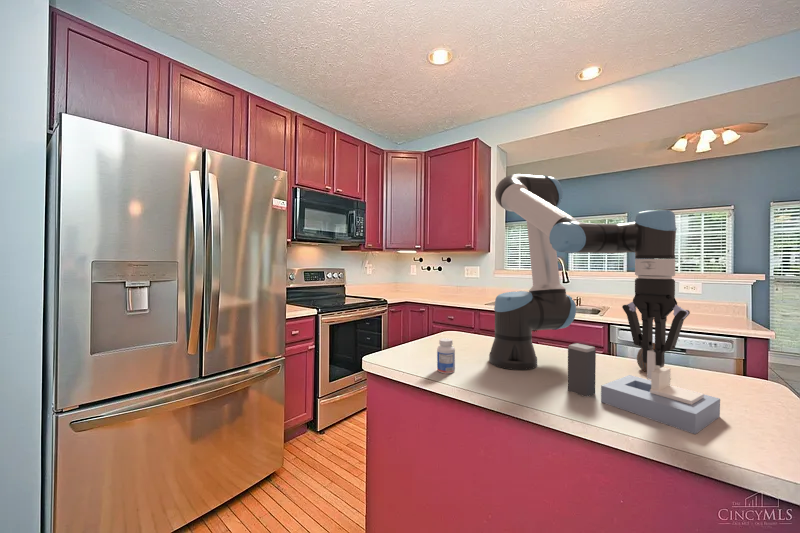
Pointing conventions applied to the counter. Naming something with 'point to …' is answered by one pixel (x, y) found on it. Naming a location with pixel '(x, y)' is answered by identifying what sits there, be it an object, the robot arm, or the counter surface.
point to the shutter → (671, 388)
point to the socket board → (660, 404)
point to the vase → (640, 359)
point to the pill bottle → (445, 356)
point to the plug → (581, 369)
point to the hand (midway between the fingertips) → (653, 378)
